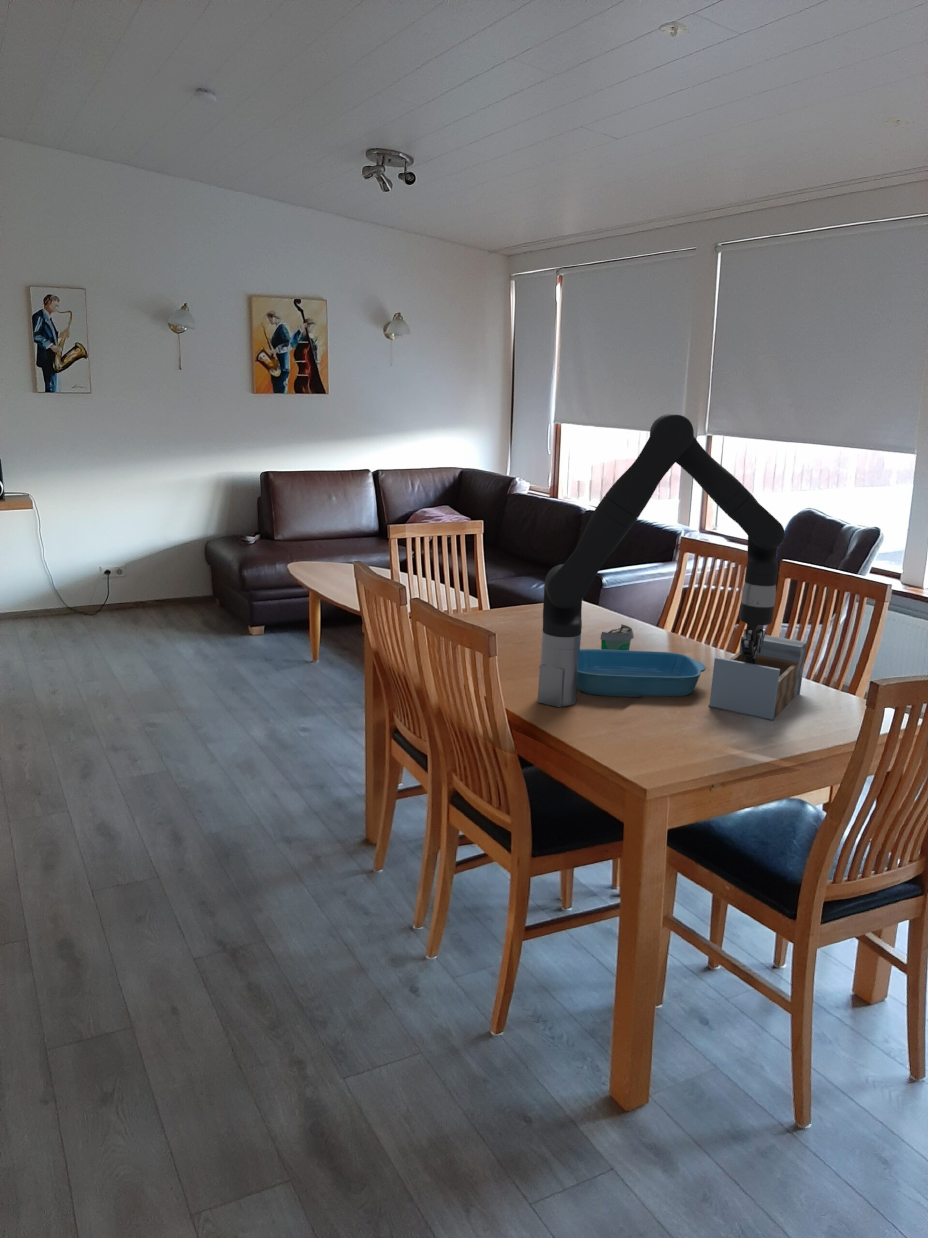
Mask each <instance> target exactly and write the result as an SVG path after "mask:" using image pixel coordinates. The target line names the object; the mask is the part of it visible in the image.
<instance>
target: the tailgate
mask: <svg viewBox="0 0 928 1238" xmlns="http://www.w3.org/2000/svg"><path fill="white" fill-rule="evenodd" d="M712 670H713V671H712V678H711V688H710V694H709V695H710V697H709V704H707V705H708V707H709V708H713V709H716V710H722V711H727V712H730V713H735V714H740V715H744V716H748V717H749V716H750V717H753V718H758V719H763V720H766V721H767V720H768V721H773V722H775V720H776V717H775V718H774V712H775V705H776V697H777V689H778V682H779V674H780V669H777V668H772V667H767V666H761V665H756V664H751V663H746V662H740V661H735V660H730V658H724V657H723V658H722V657H718V656H715V657H714V662H713V669H712Z"/></svg>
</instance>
